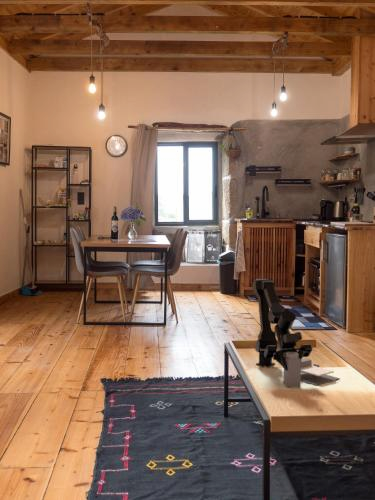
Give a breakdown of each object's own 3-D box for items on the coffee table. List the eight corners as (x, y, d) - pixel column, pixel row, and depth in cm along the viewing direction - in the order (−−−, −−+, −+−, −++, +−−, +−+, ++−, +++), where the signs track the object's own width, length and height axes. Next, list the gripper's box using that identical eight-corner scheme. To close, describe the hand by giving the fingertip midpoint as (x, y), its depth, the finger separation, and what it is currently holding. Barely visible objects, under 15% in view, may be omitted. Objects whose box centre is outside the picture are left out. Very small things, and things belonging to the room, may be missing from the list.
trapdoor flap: (290, 368, 223) (290, 361, 223) (306, 365, 229) (306, 358, 229) (318, 376, 211) (318, 368, 211) (334, 372, 217) (334, 365, 217)
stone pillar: (283, 384, 211) (284, 351, 211) (295, 383, 212) (296, 351, 212) (288, 387, 206) (288, 354, 206) (300, 387, 207) (300, 354, 207)
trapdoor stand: (283, 376, 223) (283, 366, 223) (307, 370, 232) (307, 361, 232) (316, 385, 209) (316, 375, 209) (339, 379, 218) (339, 369, 218)
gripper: (266, 325, 211) (275, 359, 200) (311, 324, 214) (322, 357, 203) (260, 341, 219) (268, 374, 208) (303, 339, 222) (313, 372, 211)
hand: (293, 369), depth 208 cm, fingers closed on stone pillar, 5 cm apart
